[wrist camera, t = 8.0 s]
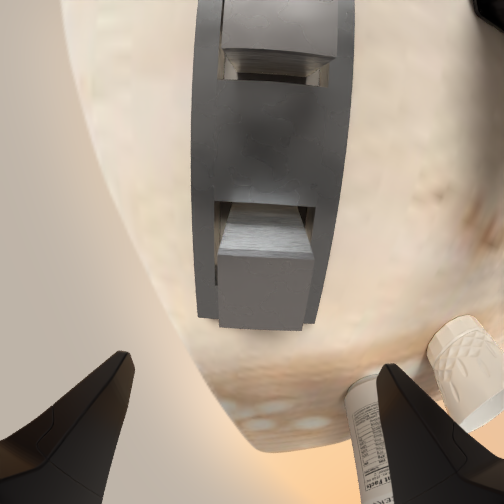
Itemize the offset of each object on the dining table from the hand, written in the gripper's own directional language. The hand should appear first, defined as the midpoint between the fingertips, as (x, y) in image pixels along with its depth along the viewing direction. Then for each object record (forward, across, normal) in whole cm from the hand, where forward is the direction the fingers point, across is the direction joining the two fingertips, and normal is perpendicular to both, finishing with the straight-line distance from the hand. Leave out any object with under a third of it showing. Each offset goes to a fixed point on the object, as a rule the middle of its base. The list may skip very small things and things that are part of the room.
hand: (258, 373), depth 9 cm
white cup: (+11, -21, +10) cm, 26 cm away
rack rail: (+11, 0, -6) cm, 13 cm away
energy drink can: (+11, -13, +17) cm, 25 cm away
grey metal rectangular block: (+11, 0, -12) cm, 17 cm away
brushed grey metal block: (+11, 0, 0) cm, 11 cm away
